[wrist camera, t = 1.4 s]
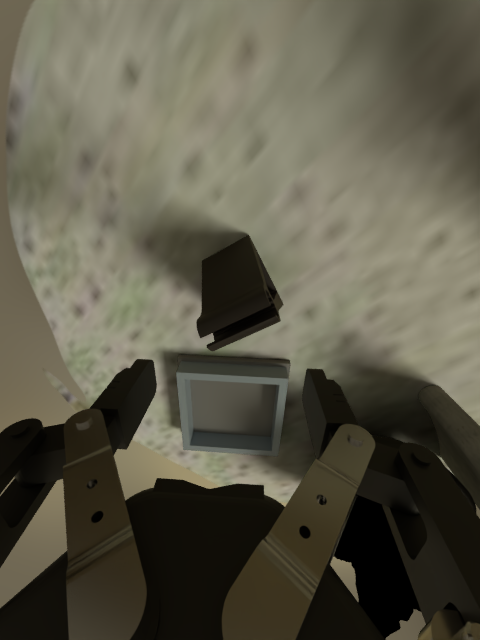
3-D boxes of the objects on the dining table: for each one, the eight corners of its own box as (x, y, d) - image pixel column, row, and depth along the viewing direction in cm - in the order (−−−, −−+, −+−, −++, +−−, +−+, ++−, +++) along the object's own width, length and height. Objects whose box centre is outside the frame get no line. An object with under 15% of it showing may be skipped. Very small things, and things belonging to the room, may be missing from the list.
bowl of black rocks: (403, 383, 34) (549, 560, 17) (438, 471, 41) (568, 661, 24) (272, 431, 40) (284, 604, 22) (322, 502, 46) (361, 677, 29)
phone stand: (202, 259, 29) (170, 293, 18) (249, 234, 28) (245, 254, 17) (239, 323, 32) (231, 384, 21) (283, 303, 31) (298, 358, 20)
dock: (289, 360, 34) (293, 375, 31) (279, 440, 40) (281, 458, 37) (179, 354, 34) (171, 368, 32) (185, 433, 41) (180, 451, 38)
